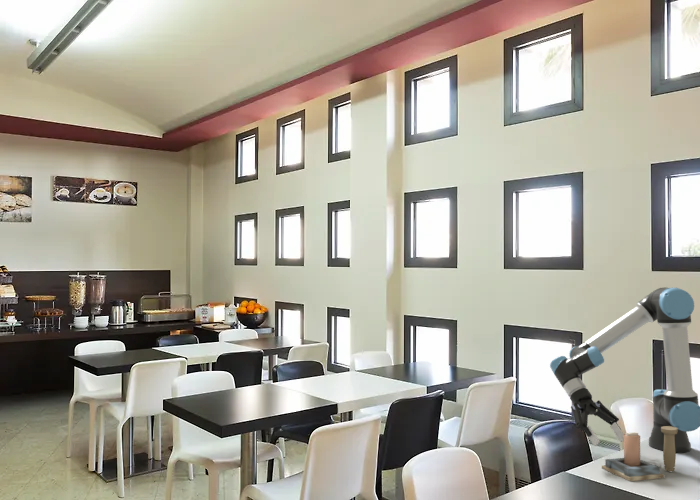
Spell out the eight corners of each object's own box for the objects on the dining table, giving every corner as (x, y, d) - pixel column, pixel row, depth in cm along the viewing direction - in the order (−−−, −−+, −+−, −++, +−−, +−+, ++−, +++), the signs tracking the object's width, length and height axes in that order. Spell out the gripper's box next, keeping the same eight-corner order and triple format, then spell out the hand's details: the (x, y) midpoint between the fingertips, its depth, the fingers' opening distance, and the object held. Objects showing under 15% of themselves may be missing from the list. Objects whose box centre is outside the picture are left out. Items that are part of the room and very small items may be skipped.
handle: (680, 470, 216) (680, 428, 216) (672, 474, 212) (672, 430, 212) (666, 467, 220) (666, 425, 220) (658, 470, 216) (658, 427, 216)
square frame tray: (634, 465, 221) (634, 455, 221) (664, 477, 208) (664, 467, 208) (601, 468, 217) (601, 458, 217) (630, 481, 204) (629, 470, 204)
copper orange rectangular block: (632, 467, 216) (632, 430, 216) (643, 471, 211) (643, 434, 211) (620, 468, 214) (620, 431, 215) (631, 472, 209) (631, 435, 210)
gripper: (595, 396, 243) (627, 443, 229) (548, 400, 232) (579, 451, 218) (606, 384, 238) (640, 432, 224) (559, 389, 227) (591, 439, 213)
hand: (610, 441), depth 221 cm, fingers open, 13 cm apart
